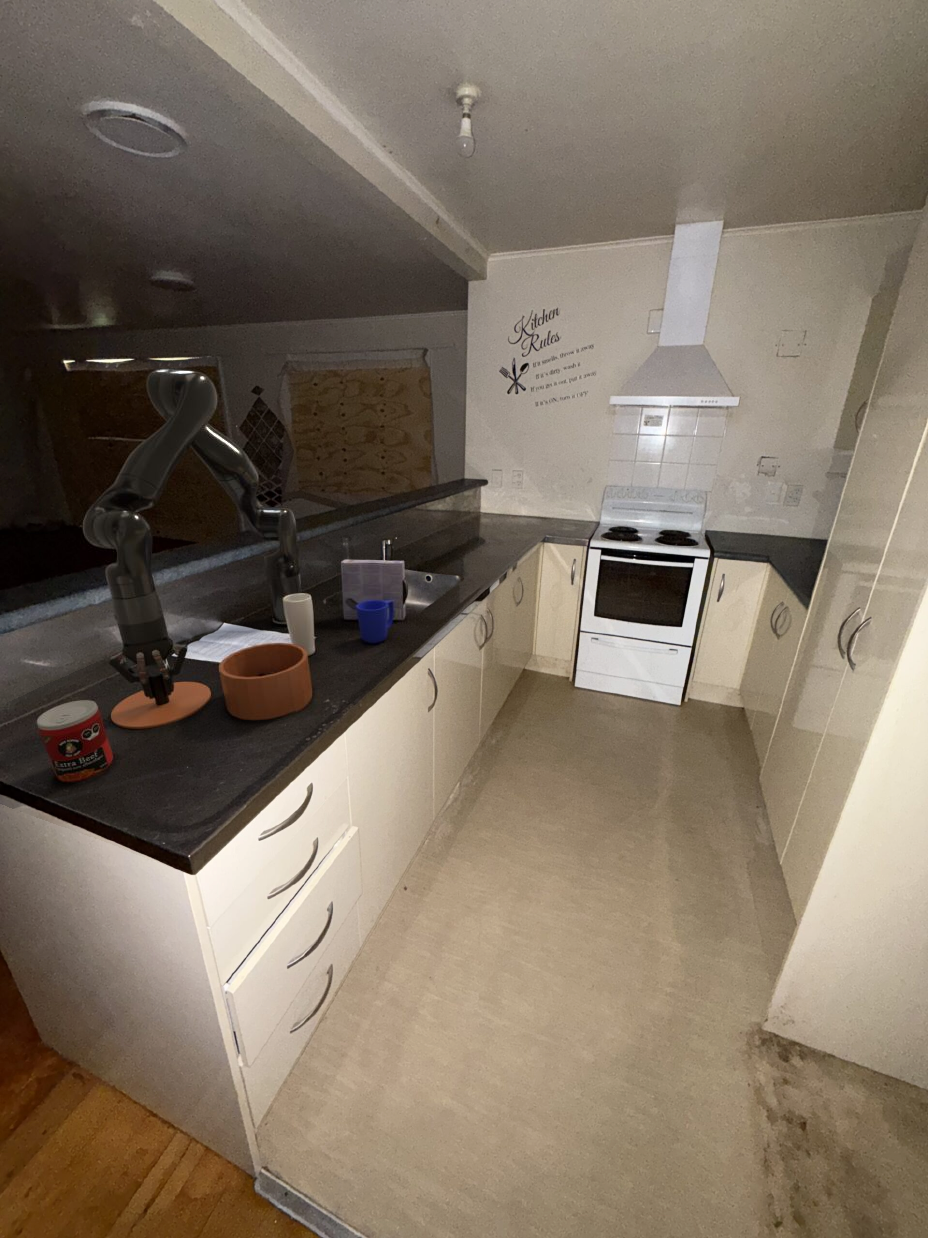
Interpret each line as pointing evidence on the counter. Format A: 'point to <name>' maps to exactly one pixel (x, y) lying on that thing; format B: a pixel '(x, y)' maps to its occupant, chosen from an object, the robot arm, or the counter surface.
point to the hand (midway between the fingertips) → (160, 695)
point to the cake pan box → (373, 585)
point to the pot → (266, 681)
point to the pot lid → (160, 704)
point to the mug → (374, 619)
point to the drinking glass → (300, 620)
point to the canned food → (75, 740)
